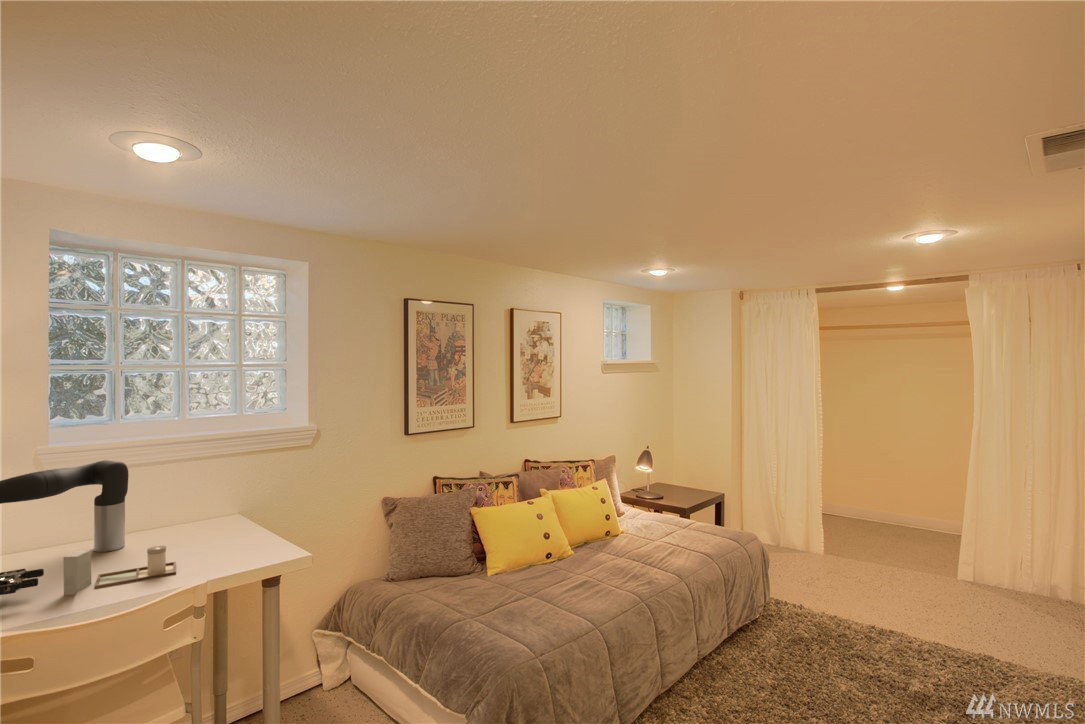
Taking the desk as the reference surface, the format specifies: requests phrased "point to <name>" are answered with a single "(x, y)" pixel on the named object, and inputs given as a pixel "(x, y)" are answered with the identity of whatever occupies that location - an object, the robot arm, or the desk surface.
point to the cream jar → (156, 560)
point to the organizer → (131, 576)
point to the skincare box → (77, 571)
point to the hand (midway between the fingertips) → (40, 576)
